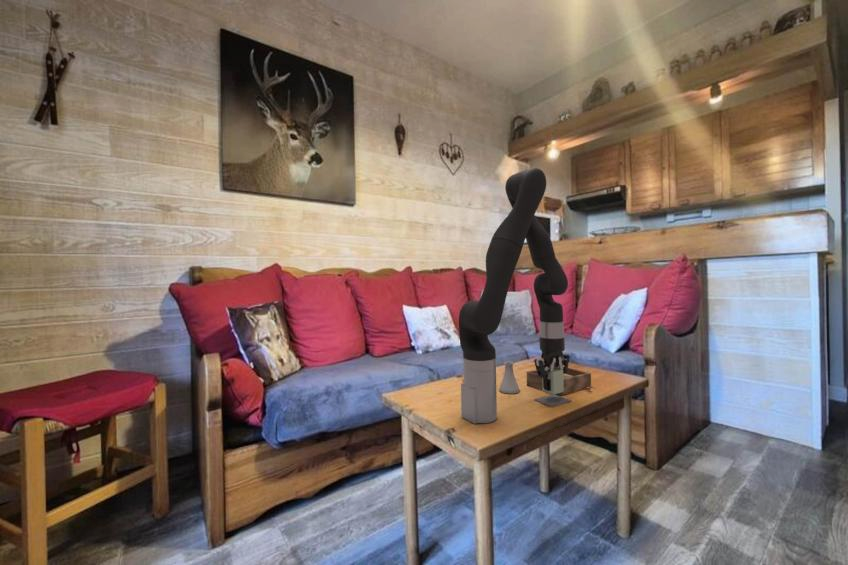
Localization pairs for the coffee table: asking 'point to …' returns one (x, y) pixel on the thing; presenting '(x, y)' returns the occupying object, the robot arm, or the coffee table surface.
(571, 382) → the crate
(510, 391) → the flask
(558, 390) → the block
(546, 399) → the pad
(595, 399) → the coffee table surface
